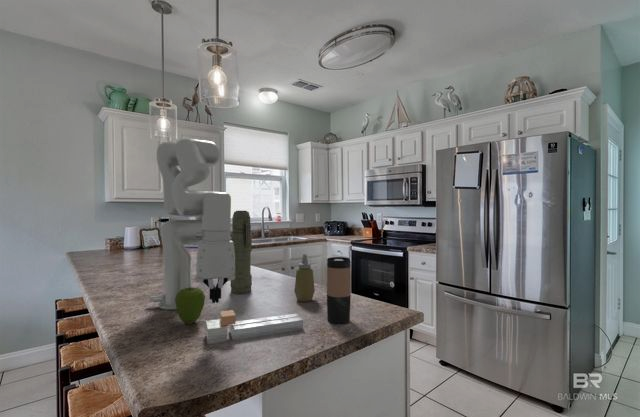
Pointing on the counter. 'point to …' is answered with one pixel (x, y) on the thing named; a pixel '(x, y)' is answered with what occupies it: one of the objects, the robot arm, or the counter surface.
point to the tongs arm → (263, 320)
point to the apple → (189, 304)
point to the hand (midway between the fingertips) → (215, 301)
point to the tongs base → (250, 329)
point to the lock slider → (227, 317)
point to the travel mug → (338, 290)
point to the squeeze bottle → (304, 281)
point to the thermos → (242, 252)
